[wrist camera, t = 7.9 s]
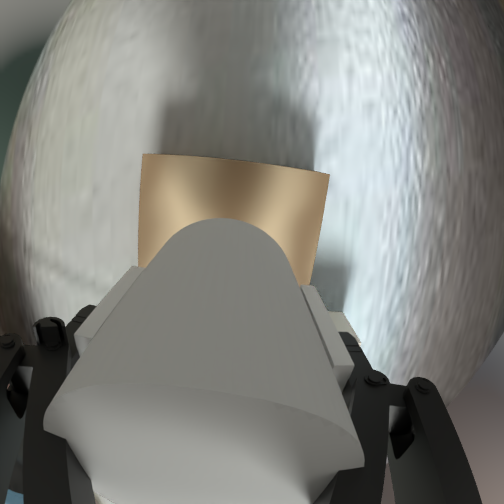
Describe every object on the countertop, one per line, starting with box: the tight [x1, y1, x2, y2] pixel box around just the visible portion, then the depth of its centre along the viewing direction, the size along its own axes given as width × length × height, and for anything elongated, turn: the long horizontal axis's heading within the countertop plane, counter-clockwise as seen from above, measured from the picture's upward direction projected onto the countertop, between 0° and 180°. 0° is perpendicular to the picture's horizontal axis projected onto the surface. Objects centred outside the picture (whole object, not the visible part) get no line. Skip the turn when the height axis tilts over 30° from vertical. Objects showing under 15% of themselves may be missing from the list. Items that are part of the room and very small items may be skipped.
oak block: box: [138, 154, 330, 287], centre depth 25 cm, size 14×14×5 cm
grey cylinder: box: [43, 218, 365, 504], centre depth 11 cm, size 8×8×12 cm
